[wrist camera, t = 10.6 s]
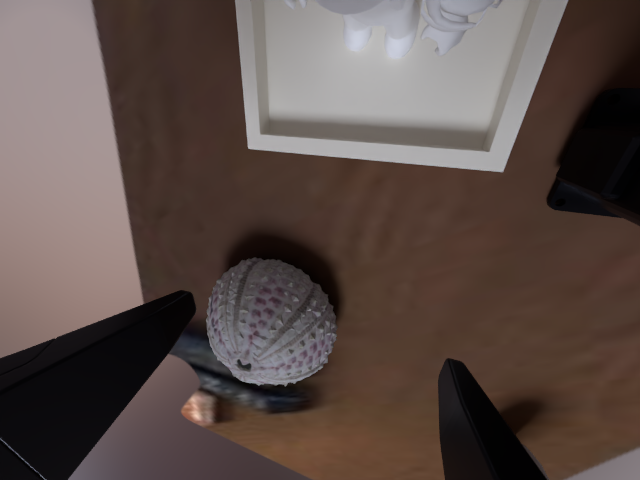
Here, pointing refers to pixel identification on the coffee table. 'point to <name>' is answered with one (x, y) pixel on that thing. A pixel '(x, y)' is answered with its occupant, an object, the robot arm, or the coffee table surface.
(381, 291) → the coffee table surface
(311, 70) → the tray
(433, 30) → the flower shoulder figurine
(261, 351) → the sea urchin shell
